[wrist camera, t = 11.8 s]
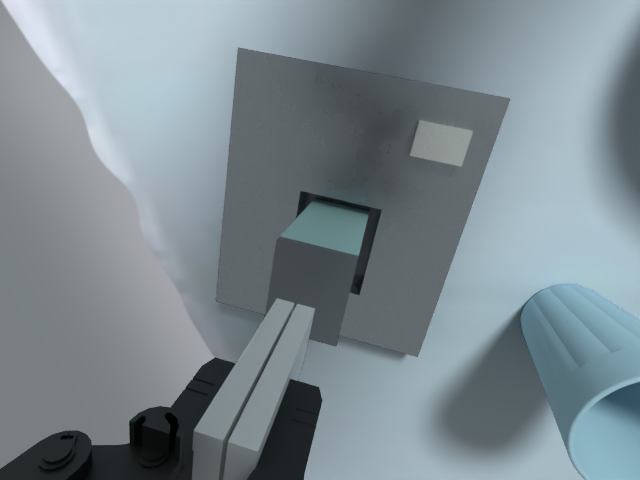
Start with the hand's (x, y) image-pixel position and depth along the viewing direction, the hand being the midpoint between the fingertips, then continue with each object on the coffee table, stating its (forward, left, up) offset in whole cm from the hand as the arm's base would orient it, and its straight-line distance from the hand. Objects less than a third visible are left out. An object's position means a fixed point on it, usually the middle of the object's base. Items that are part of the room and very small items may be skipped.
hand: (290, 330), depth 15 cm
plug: (0, 0, -12) cm, 12 cm away
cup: (+2, +17, -13) cm, 21 cm away
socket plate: (-2, 0, -12) cm, 13 cm away
